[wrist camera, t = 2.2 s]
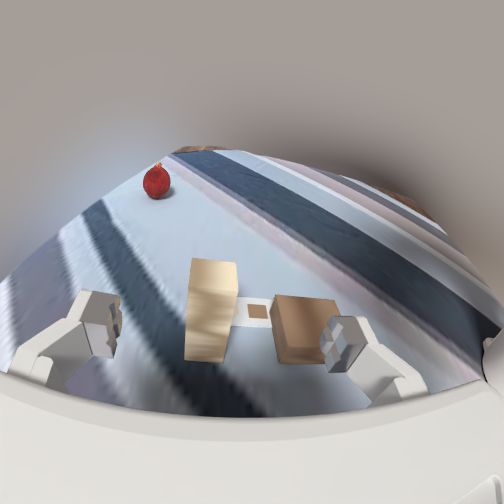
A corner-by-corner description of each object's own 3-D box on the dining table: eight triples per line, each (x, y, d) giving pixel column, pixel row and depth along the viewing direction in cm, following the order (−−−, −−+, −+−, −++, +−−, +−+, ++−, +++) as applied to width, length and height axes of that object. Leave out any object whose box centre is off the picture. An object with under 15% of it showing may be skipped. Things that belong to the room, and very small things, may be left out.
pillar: (221, 334, 32) (235, 262, 27) (222, 362, 28) (238, 291, 23) (186, 331, 31) (192, 257, 26) (184, 359, 28) (188, 286, 22)
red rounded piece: (164, 206, 56) (167, 168, 52) (138, 201, 56) (139, 164, 52) (172, 195, 61) (175, 161, 57) (148, 192, 61) (150, 157, 56)
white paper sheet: (273, 300, 38) (273, 299, 38) (279, 328, 34) (280, 326, 34) (213, 295, 37) (213, 294, 37) (213, 324, 33) (213, 322, 33)
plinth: (325, 316, 38) (334, 300, 36) (343, 363, 31) (354, 347, 29) (269, 312, 36) (275, 294, 34) (279, 363, 29) (287, 346, 28)
